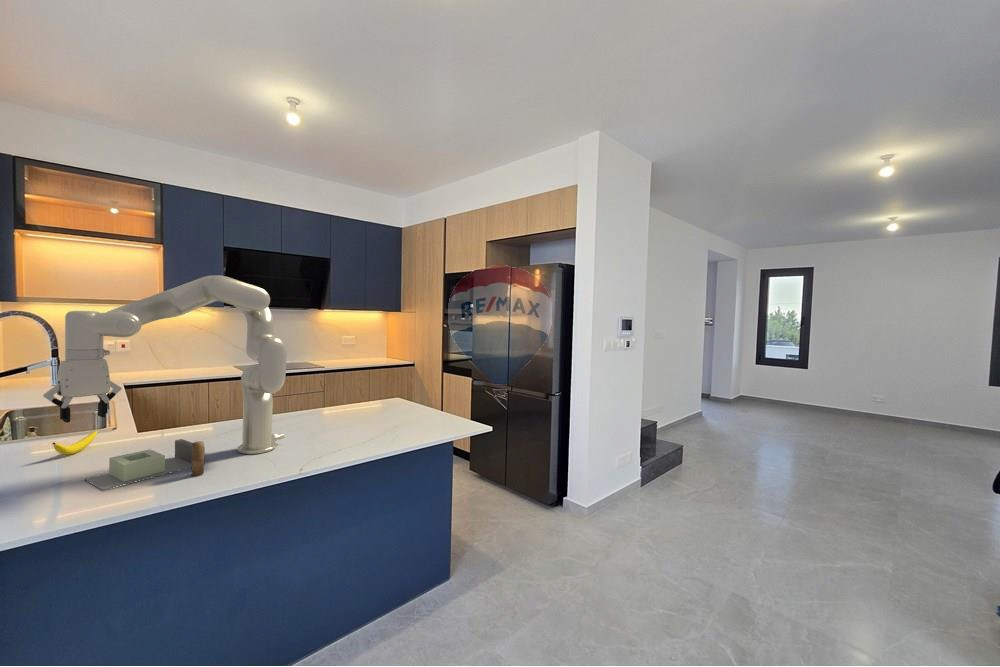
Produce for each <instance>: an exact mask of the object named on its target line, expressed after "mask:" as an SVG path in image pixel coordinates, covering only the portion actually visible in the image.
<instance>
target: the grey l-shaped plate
mask: <svg viewBox="0 0 1000 667" xmlns="http://www.w3.org/2000/svg"><path fill="white" fill-rule="evenodd" d="M192 443H193V442H191V441H189V440H185V439H182V438H179V439H175V440H174V457H171V458H167V459H166V458H165V471H164V472H160V473H156V474H153V475H149V476H145V477H141V478H137V479H133V480H129V481H125V482H123V481H121V480H119V479H117V478H116V477H114V476H112V475H110V474H109V472H108V473H103V474H99V475H94V476H90V477H87V478H86V477H85V479H86V480H87V481H89V482H91V483H93V484H94V485H96V486H97V487H96V486H95V487H96V488H98V487H99V488H100V489H99V488H98V489H99V490H101V489H102V490H101V491H103V490H104V491H107V490H106V489H108V490H111V489H110V488H112V489H114V488H113V487H116V486H120V485H123V484H127V485H129V484H128V483H131V482H135V481H139V480H142V481H144V480H143V479H146V480H148V479H147V478H150V479H152V478H151V477H154V478H156V477H155V476H158V477H160V476H159V475H161V476H164V475H163V474H165V475H168V474H167V473H169V474H171V473H170V472H173V473H175V472H174V471H177V472H179V471H178V470H180V471H182V470H181V469H184V470H186V469H185V468H188V469H191V468H190V467H192ZM205 452H206V451H205V446H204V455H206V454H205ZM86 480H85V481H86ZM87 481H86V482H87ZM89 482H88V483H89ZM139 482H140V481H139ZM91 483H90V484H91ZM135 483H136V482H135ZM93 484H92V485H93ZM131 484H132V483H131ZM94 485H93V486H94ZM123 486H124V485H123ZM120 487H121V486H120ZM116 488H117V487H116Z"/></svg>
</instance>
